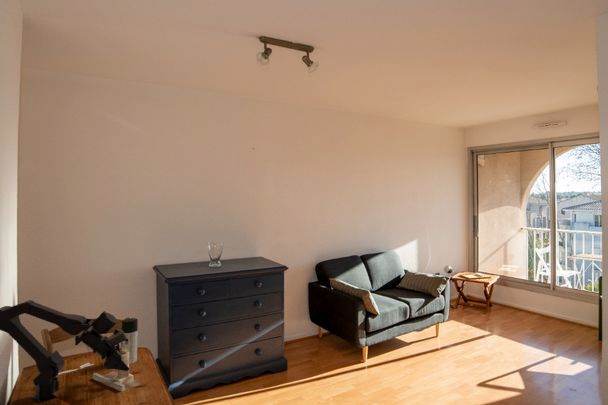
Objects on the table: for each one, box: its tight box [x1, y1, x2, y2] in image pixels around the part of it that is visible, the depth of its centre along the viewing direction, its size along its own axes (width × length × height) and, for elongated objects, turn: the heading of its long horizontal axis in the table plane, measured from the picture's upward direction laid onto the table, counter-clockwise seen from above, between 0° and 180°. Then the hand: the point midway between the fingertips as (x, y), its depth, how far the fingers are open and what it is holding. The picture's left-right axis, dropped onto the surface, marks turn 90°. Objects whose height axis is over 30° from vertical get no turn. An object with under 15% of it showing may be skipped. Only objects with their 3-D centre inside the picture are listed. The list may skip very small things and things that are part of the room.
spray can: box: [120, 317, 139, 365], centre depth 175 cm, size 7×7×20 cm
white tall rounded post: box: [113, 349, 135, 385], centre depth 153 cm, size 6×5×13 cm
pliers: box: [57, 362, 94, 376], centre depth 166 cm, size 10×2×15 cm
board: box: [92, 371, 143, 393], centre depth 154 cm, size 9×20×4 cm, turn 57°
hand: (127, 365), depth 153 cm, fingers open, 9 cm apart
